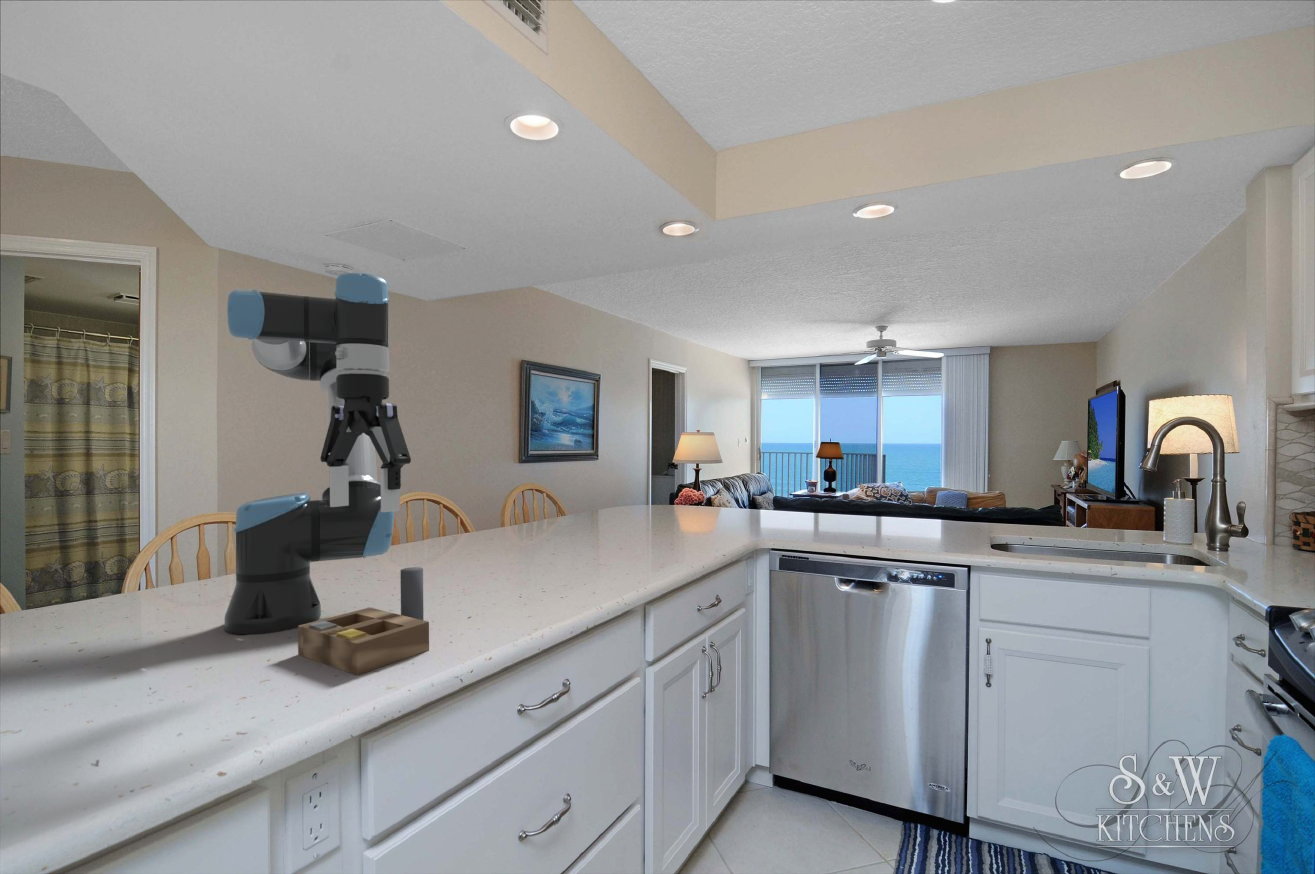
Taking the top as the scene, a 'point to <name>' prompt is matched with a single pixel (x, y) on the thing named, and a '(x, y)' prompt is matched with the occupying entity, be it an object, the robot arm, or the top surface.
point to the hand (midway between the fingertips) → (364, 508)
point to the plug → (412, 592)
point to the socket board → (363, 639)
